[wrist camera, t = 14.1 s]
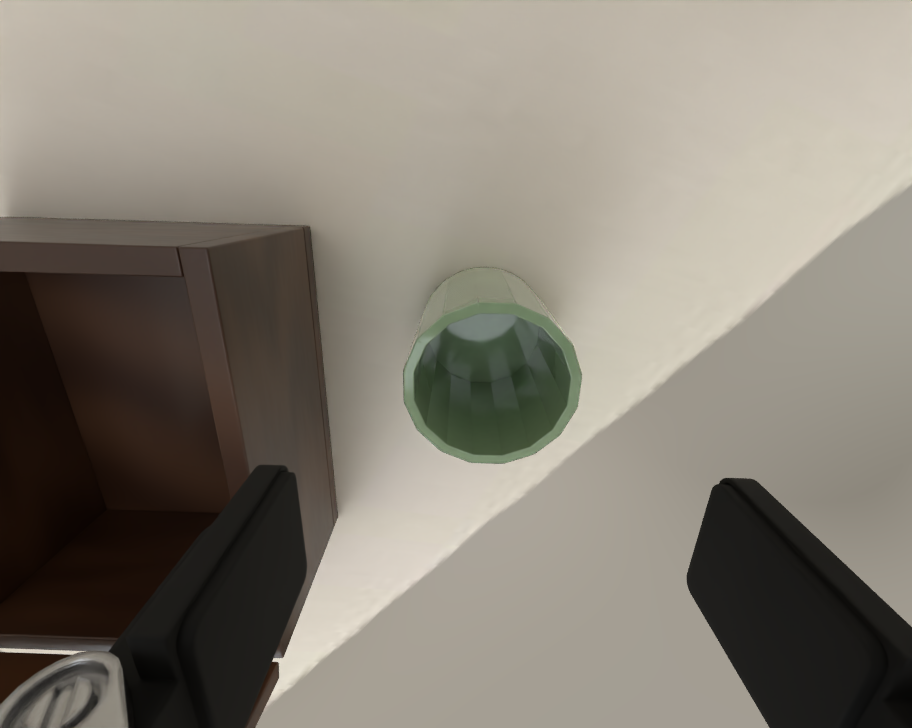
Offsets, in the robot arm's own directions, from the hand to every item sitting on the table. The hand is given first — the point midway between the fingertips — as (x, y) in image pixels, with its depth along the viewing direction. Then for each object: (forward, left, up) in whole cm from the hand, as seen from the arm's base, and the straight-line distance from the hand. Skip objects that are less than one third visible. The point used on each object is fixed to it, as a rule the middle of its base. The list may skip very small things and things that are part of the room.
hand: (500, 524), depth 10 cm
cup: (0, 0, -14) cm, 14 cm away
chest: (+16, +4, -14) cm, 21 cm away
